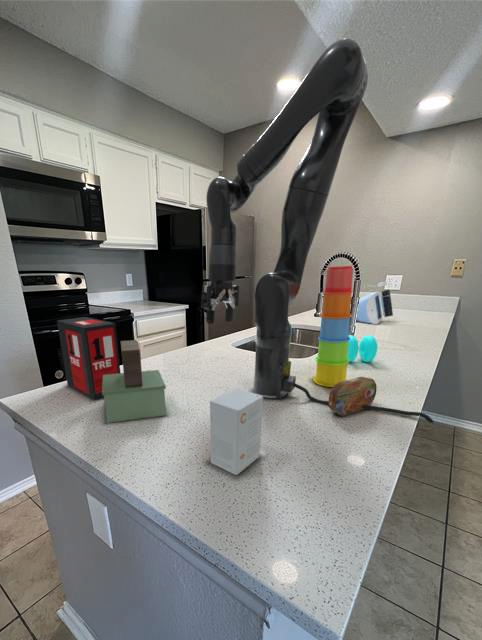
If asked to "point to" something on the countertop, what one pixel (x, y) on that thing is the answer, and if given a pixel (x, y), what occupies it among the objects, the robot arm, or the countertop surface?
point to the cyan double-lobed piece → (362, 348)
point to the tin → (352, 395)
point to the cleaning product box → (88, 353)
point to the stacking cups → (334, 327)
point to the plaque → (131, 363)
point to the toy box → (133, 397)
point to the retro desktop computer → (374, 306)
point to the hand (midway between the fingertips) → (220, 322)
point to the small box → (235, 430)
